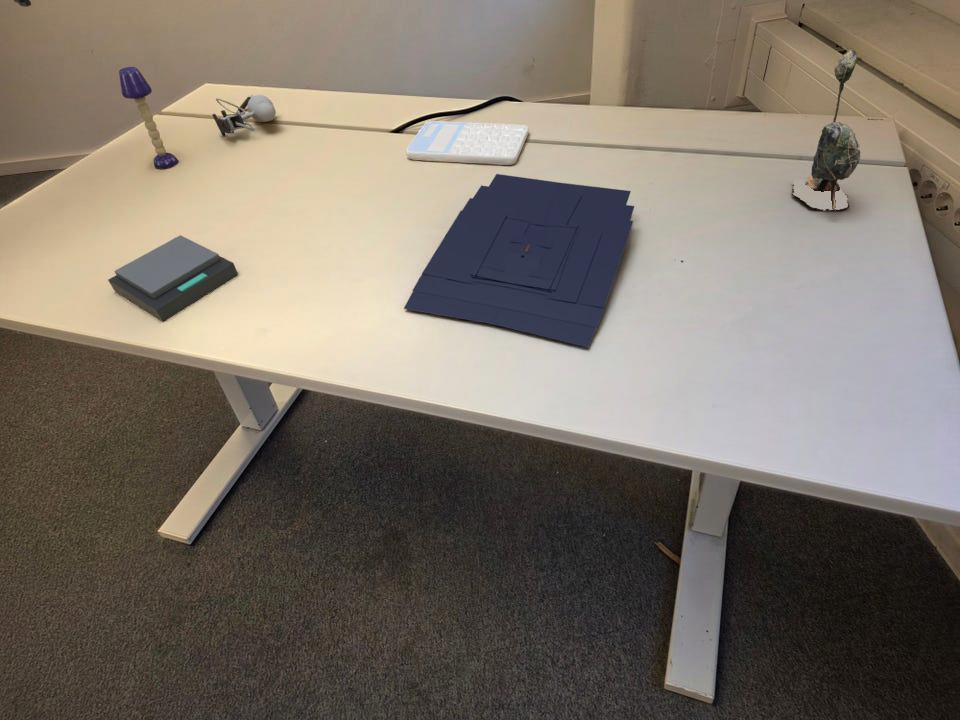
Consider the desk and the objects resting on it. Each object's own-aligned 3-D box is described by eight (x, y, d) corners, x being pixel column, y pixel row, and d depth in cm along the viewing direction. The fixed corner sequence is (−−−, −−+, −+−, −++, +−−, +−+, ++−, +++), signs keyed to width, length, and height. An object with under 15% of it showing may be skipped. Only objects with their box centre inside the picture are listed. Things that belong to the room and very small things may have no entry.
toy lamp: (176, 155, 114) (135, 62, 103) (185, 163, 112) (145, 68, 100) (151, 164, 112) (107, 70, 101) (160, 172, 110) (116, 76, 98)
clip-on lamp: (218, 131, 129) (227, 143, 114) (203, 100, 125) (210, 109, 111) (271, 112, 131) (285, 121, 117) (257, 81, 128) (271, 87, 114)
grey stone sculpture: (786, 216, 87) (834, 69, 73) (790, 178, 94) (835, 39, 80) (849, 224, 84) (911, 74, 70) (848, 186, 91) (905, 43, 77)
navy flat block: (642, 208, 88) (645, 187, 85) (590, 363, 71) (591, 342, 68) (486, 187, 95) (484, 167, 93) (405, 322, 78) (399, 303, 76)
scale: (162, 321, 78) (152, 303, 76) (114, 291, 84) (103, 273, 82) (238, 274, 85) (231, 256, 83) (189, 249, 90) (181, 232, 88)
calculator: (515, 166, 103) (515, 156, 101) (404, 160, 107) (402, 150, 106) (530, 132, 112) (529, 122, 110) (427, 128, 116) (425, 118, 115)
